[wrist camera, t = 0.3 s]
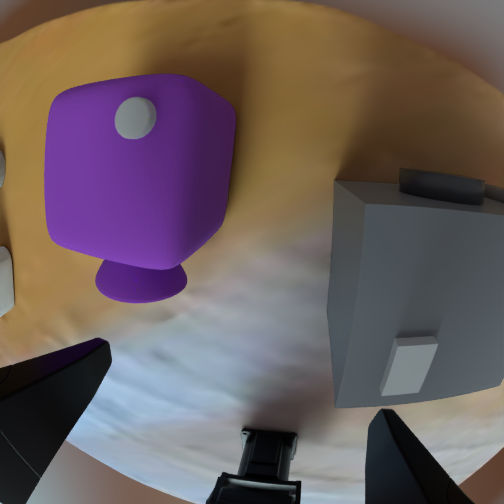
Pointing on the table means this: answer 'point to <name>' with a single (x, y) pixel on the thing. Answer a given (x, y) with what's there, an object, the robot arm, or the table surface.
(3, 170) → the electronic device
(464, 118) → the table surface
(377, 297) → the camera case
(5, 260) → the photo printer
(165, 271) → the toy camera
